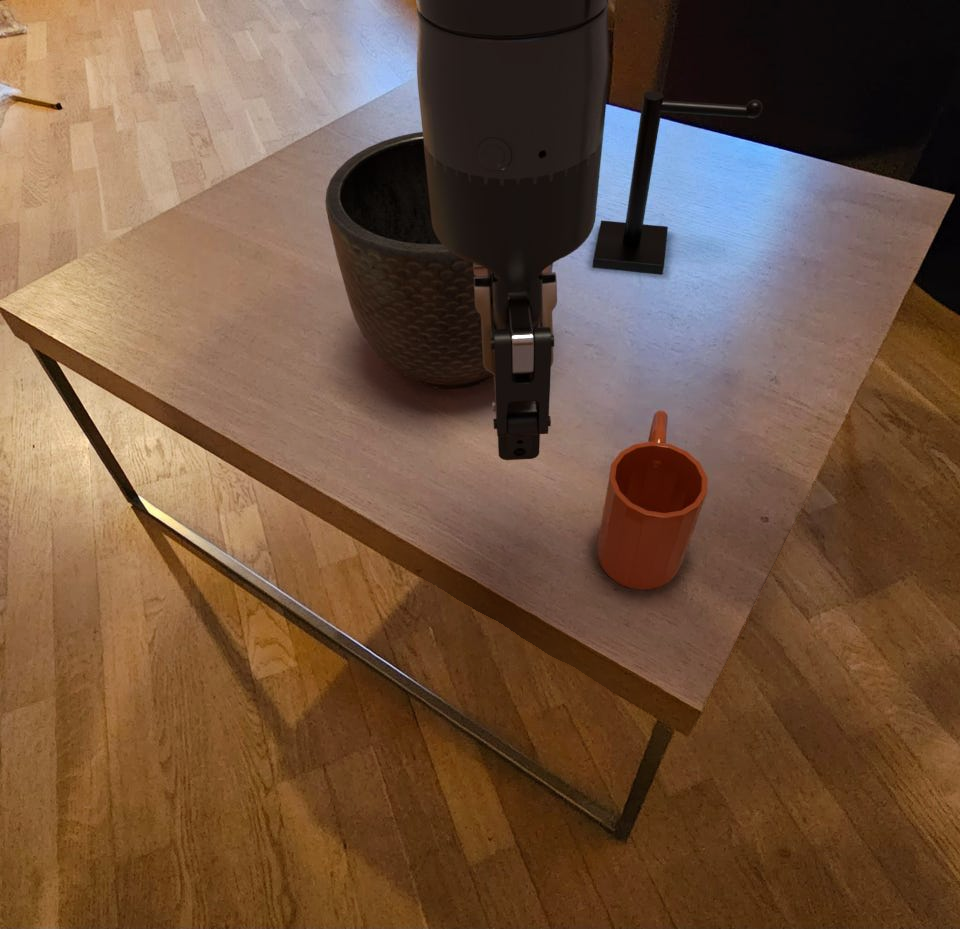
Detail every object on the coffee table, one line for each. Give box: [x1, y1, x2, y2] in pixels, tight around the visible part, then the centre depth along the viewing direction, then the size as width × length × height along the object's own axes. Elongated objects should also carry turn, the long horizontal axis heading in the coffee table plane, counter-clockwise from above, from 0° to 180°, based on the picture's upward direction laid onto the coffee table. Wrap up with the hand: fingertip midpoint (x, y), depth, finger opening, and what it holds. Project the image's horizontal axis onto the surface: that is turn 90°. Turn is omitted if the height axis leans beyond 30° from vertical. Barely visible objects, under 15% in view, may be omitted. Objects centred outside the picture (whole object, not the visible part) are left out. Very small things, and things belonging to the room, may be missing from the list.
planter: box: [325, 131, 554, 391], centre depth 68 cm, size 20×20×19 cm
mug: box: [596, 410, 708, 591], centre depth 57 cm, size 12×7×10 cm, turn 168°
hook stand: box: [592, 90, 764, 275], centre depth 78 cm, size 15×8×18 cm, turn 78°
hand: (513, 399), depth 42 cm, fingers open, 8 cm apart
